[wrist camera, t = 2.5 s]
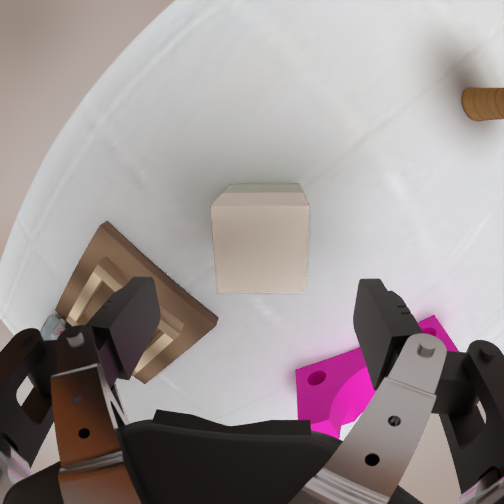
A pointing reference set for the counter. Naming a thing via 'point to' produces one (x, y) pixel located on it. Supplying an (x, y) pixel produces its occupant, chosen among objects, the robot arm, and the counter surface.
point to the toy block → (344, 385)
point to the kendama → (484, 103)
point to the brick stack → (261, 239)
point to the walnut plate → (117, 276)
